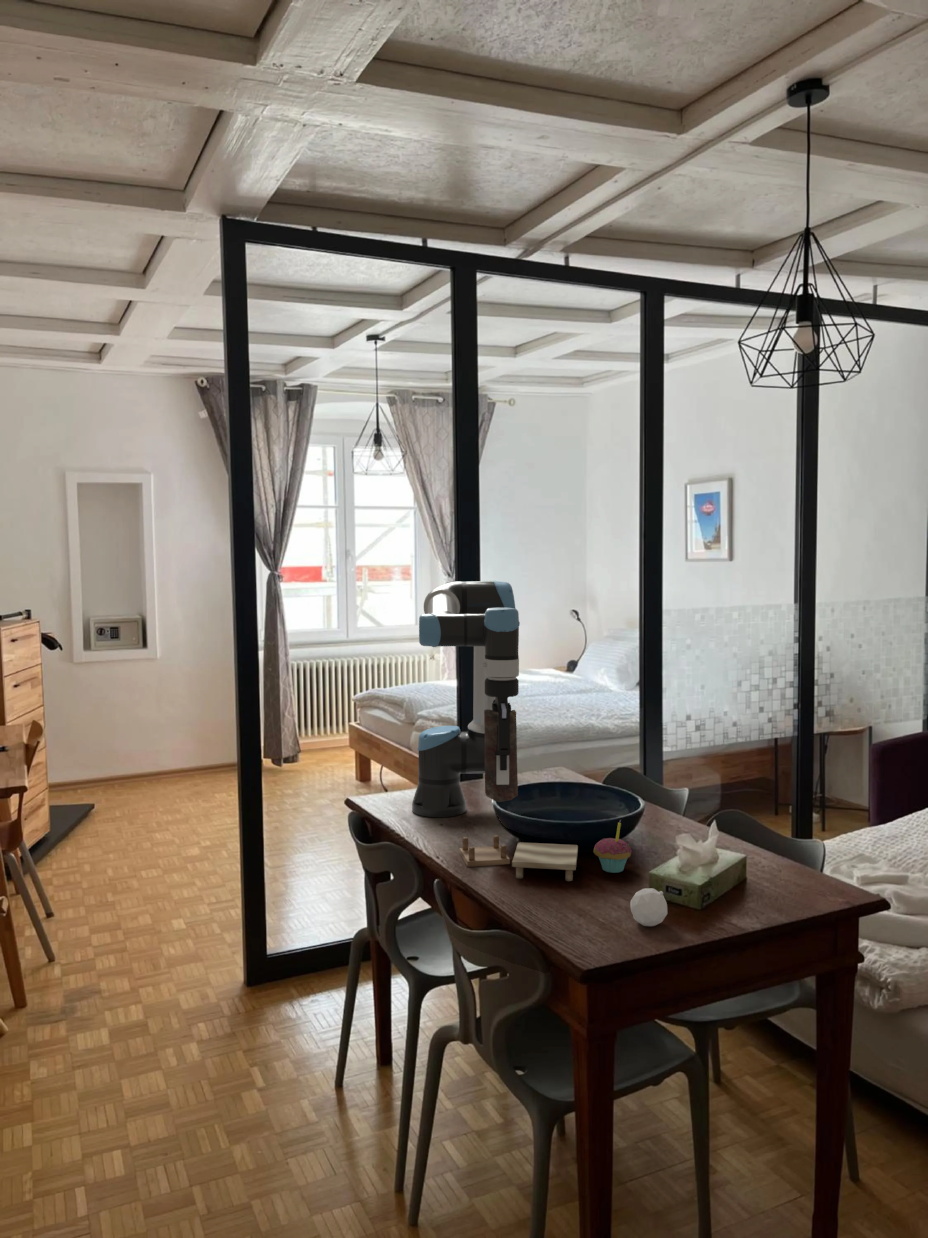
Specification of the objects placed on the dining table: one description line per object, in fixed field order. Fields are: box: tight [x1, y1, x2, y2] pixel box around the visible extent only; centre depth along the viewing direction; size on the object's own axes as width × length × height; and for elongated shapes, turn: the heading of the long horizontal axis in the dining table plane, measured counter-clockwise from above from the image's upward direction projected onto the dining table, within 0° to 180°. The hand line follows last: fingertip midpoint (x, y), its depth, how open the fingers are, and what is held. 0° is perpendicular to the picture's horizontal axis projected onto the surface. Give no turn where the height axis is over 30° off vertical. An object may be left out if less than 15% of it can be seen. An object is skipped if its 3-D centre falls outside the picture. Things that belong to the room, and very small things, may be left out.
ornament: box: [629, 887, 668, 927], centre depth 184 cm, size 7×7×8 cm
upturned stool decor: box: [459, 834, 511, 868], centre depth 224 cm, size 10×10×4 cm
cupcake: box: [593, 819, 633, 874], centre depth 216 cm, size 9×8×12 cm
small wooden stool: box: [511, 841, 579, 882], centre depth 216 cm, size 14×14×4 cm
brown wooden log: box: [484, 709, 519, 803], centre depth 210 cm, size 8×7×20 cm
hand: (501, 779), depth 210 cm, fingers closed on brown wooden log, 7 cm apart
